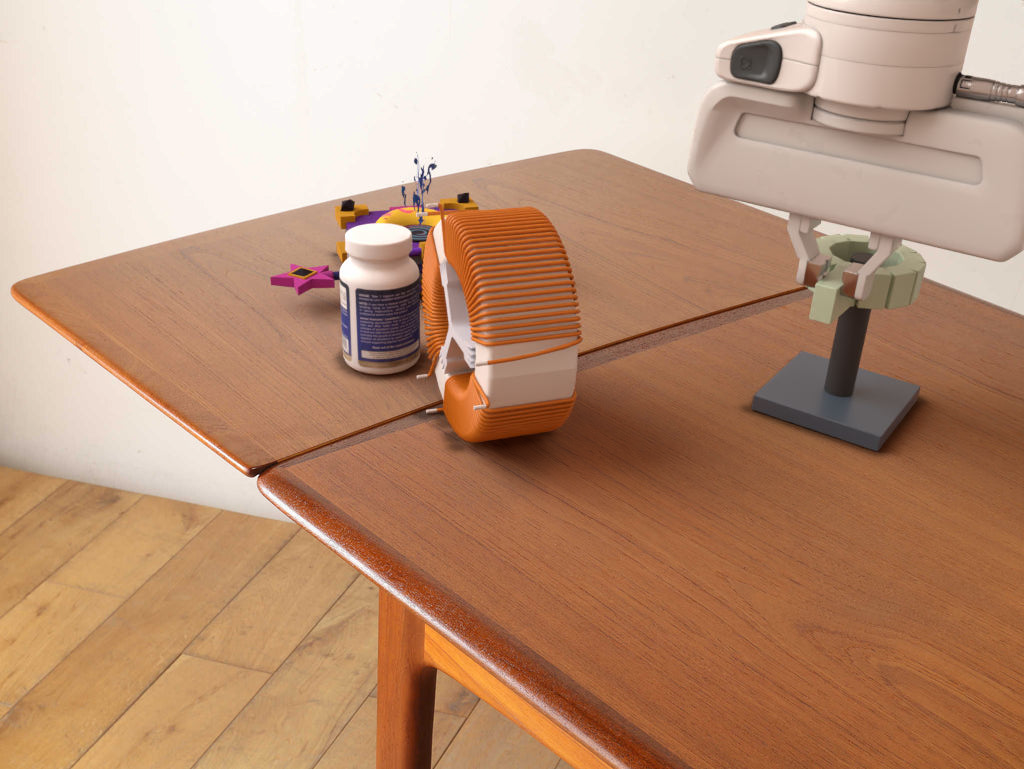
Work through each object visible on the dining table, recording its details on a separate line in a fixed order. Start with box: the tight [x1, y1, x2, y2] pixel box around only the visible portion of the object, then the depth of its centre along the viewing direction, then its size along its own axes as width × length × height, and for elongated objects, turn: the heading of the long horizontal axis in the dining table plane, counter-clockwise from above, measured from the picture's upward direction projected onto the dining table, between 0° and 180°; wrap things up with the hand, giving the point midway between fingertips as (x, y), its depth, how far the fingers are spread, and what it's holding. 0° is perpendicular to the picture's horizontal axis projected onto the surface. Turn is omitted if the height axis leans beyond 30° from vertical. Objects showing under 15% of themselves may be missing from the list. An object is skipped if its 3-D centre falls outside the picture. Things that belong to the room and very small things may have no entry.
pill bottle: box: [338, 223, 421, 375], centre depth 76 cm, size 6×6×10 cm
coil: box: [416, 202, 584, 444], centre depth 67 cm, size 7×15×15 cm, turn 19°
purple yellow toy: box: [269, 151, 480, 298], centre depth 90 cm, size 14×25×12 cm, turn 108°
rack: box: [751, 252, 922, 452], centre depth 72 cm, size 9×9×11 cm
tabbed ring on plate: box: [805, 233, 927, 326], centre depth 69 cm, size 7×11×2 cm
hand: (832, 290), depth 65 cm, fingers closed on tabbed ring on plate, 1 cm apart
